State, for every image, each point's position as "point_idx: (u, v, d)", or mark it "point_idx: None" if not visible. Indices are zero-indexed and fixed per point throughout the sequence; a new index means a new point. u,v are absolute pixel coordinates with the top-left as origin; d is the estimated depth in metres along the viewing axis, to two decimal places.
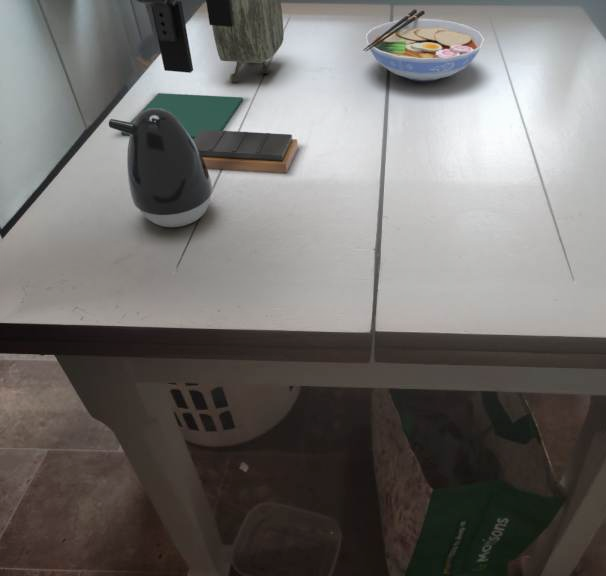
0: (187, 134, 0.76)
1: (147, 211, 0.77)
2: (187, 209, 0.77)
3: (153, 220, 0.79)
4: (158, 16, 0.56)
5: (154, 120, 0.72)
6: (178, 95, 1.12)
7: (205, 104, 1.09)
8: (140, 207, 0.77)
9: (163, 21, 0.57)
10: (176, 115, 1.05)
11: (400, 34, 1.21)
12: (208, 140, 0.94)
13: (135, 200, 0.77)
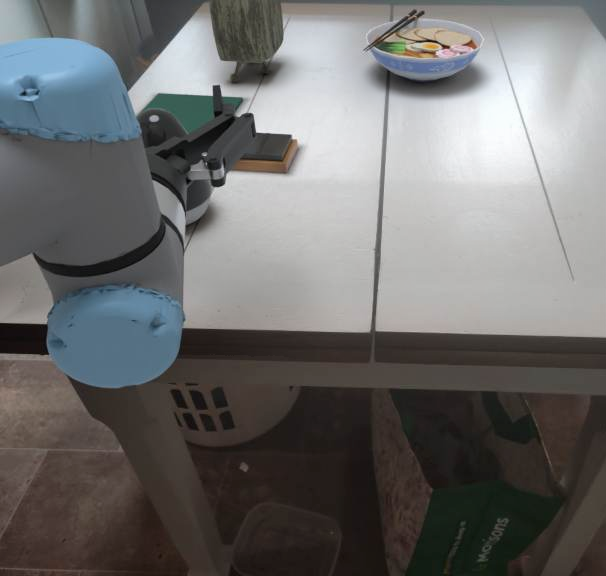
0: None
1: None
2: (187, 209, 0.77)
3: None
4: None
5: (154, 120, 0.72)
6: (178, 95, 1.12)
7: (205, 104, 1.09)
8: None
9: None
10: (176, 115, 1.05)
11: (400, 34, 1.21)
12: None
13: None
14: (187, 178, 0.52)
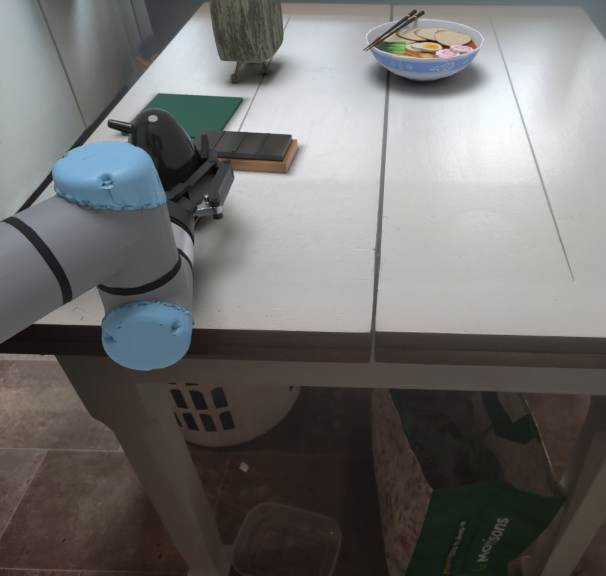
0: (186, 134, 0.76)
1: None
2: None
3: None
4: None
5: (153, 120, 0.72)
6: (178, 95, 1.12)
7: (205, 104, 1.09)
8: None
9: None
10: (176, 115, 1.05)
11: (400, 34, 1.21)
12: (208, 140, 0.94)
13: None
14: (195, 216, 0.69)
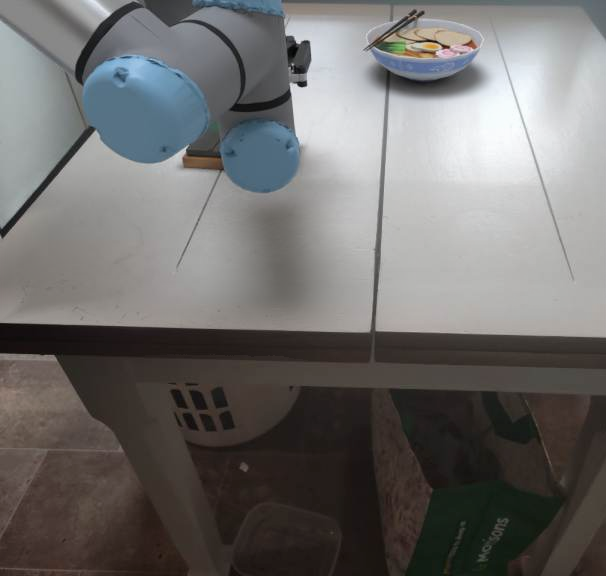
0: None
1: None
2: None
3: None
4: None
5: None
6: None
7: None
8: None
9: None
10: None
11: (400, 34, 1.21)
12: (208, 140, 0.94)
13: None
14: None
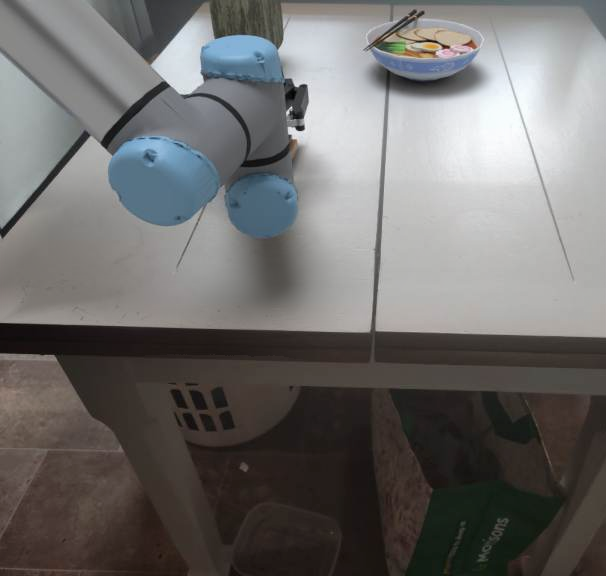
0: None
1: None
2: None
3: None
4: None
5: None
6: None
7: None
8: None
9: None
10: None
11: (400, 34, 1.21)
12: None
13: None
14: None
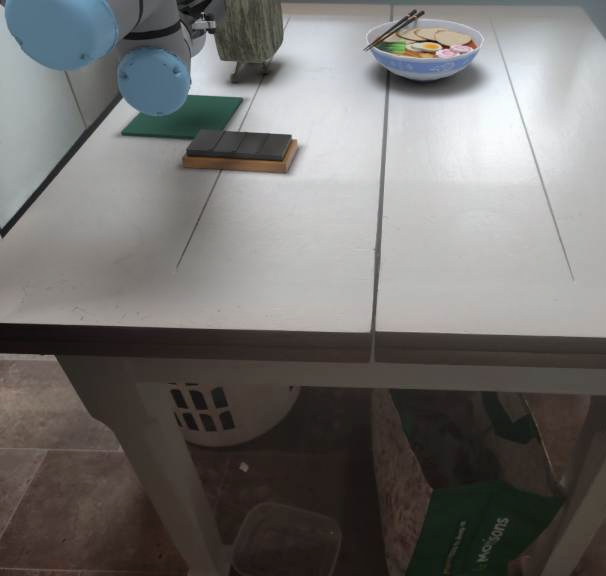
0: None
1: None
2: None
3: None
4: None
5: None
6: None
7: (205, 104, 1.09)
8: None
9: None
10: (176, 115, 1.05)
11: (400, 34, 1.21)
12: (208, 140, 0.94)
13: None
14: (193, 28, 0.82)
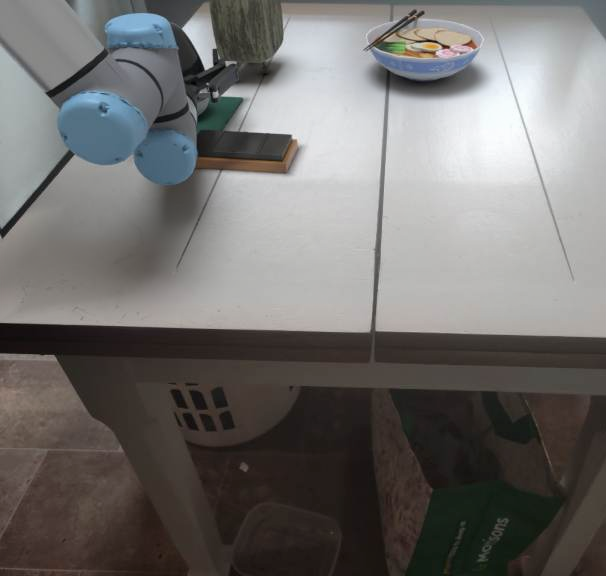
0: (191, 43, 0.99)
1: None
2: None
3: None
4: None
5: None
6: None
7: None
8: None
9: None
10: None
11: (400, 34, 1.21)
12: (208, 140, 0.94)
13: None
14: (197, 97, 0.92)
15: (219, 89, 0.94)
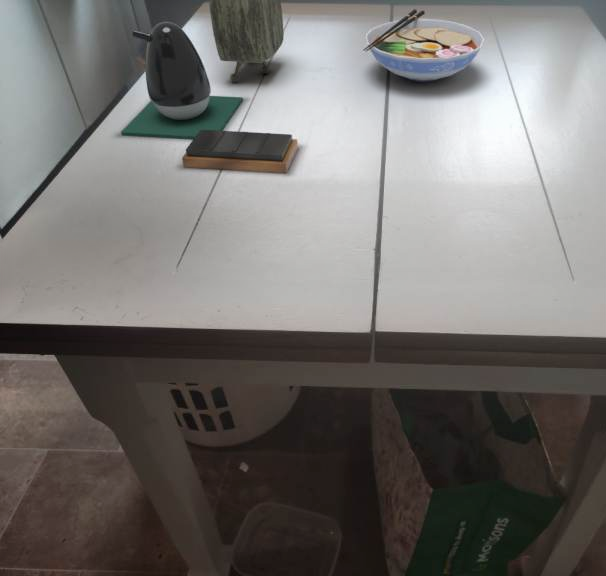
0: (191, 43, 0.99)
1: (161, 104, 1.00)
2: (192, 102, 1.00)
3: (165, 112, 1.02)
4: None
5: (166, 29, 0.95)
6: None
7: None
8: (155, 101, 1.00)
9: None
10: None
11: (400, 34, 1.21)
12: (208, 140, 0.94)
13: (151, 95, 1.00)
14: None
15: None
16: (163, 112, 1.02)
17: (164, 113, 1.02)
